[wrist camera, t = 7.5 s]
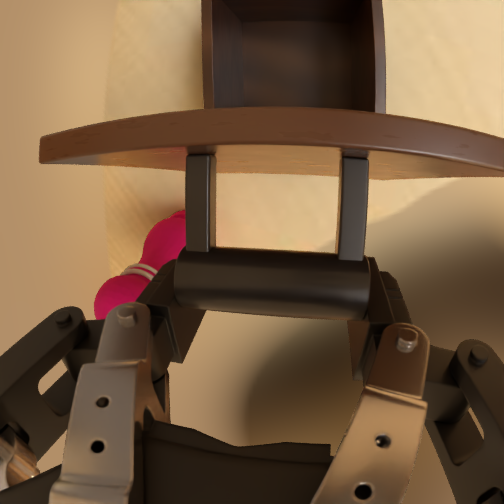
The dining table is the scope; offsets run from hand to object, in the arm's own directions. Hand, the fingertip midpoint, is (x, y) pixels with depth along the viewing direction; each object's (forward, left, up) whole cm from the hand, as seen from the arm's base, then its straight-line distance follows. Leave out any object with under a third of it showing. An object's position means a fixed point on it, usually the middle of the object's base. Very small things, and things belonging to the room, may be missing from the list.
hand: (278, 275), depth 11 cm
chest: (-9, 0, -24) cm, 25 cm away
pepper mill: (+9, -13, -24) cm, 29 cm away
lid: (-4, 0, -4) cm, 6 cm away
